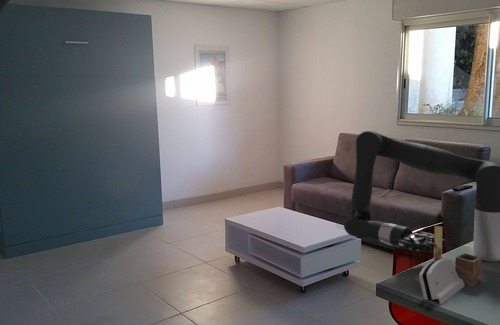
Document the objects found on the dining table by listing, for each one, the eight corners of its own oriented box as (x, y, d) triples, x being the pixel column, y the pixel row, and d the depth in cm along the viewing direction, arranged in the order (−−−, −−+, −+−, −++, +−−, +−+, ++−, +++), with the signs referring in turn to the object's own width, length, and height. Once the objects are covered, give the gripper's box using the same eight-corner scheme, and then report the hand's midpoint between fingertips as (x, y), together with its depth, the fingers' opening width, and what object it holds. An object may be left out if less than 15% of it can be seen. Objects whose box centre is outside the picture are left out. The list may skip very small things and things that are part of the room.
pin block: (463, 275, 144) (464, 253, 143) (480, 281, 140) (481, 257, 139) (454, 280, 141) (455, 257, 140) (472, 286, 137) (473, 262, 136)
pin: (435, 269, 150) (437, 225, 148) (442, 271, 148) (444, 227, 146) (431, 271, 149) (433, 227, 146) (438, 273, 147) (440, 228, 144)
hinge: (441, 304, 126) (430, 269, 127) (425, 305, 130) (414, 270, 130) (465, 285, 137) (455, 253, 138) (450, 286, 141) (440, 254, 142)
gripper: (382, 229, 155) (426, 240, 142) (407, 220, 163) (450, 230, 151) (382, 250, 156) (426, 263, 143) (406, 240, 165) (449, 252, 152)
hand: (438, 246), depth 147 cm, fingers open, 8 cm apart
